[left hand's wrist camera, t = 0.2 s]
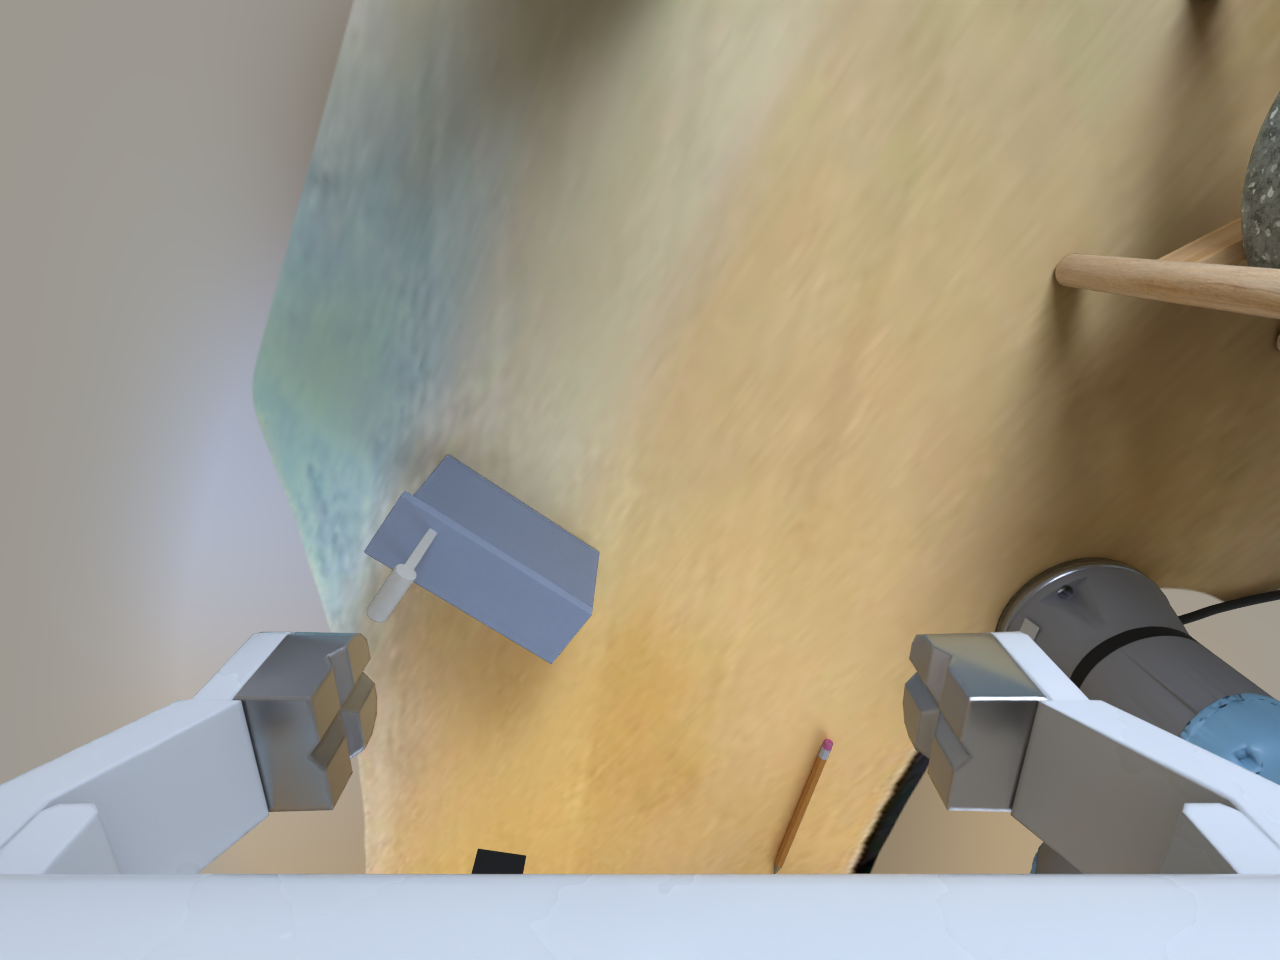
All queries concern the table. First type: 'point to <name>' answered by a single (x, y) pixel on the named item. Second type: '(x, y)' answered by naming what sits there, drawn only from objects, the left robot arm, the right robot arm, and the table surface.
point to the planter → (1208, 251)
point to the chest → (512, 527)
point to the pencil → (803, 804)
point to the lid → (471, 579)
